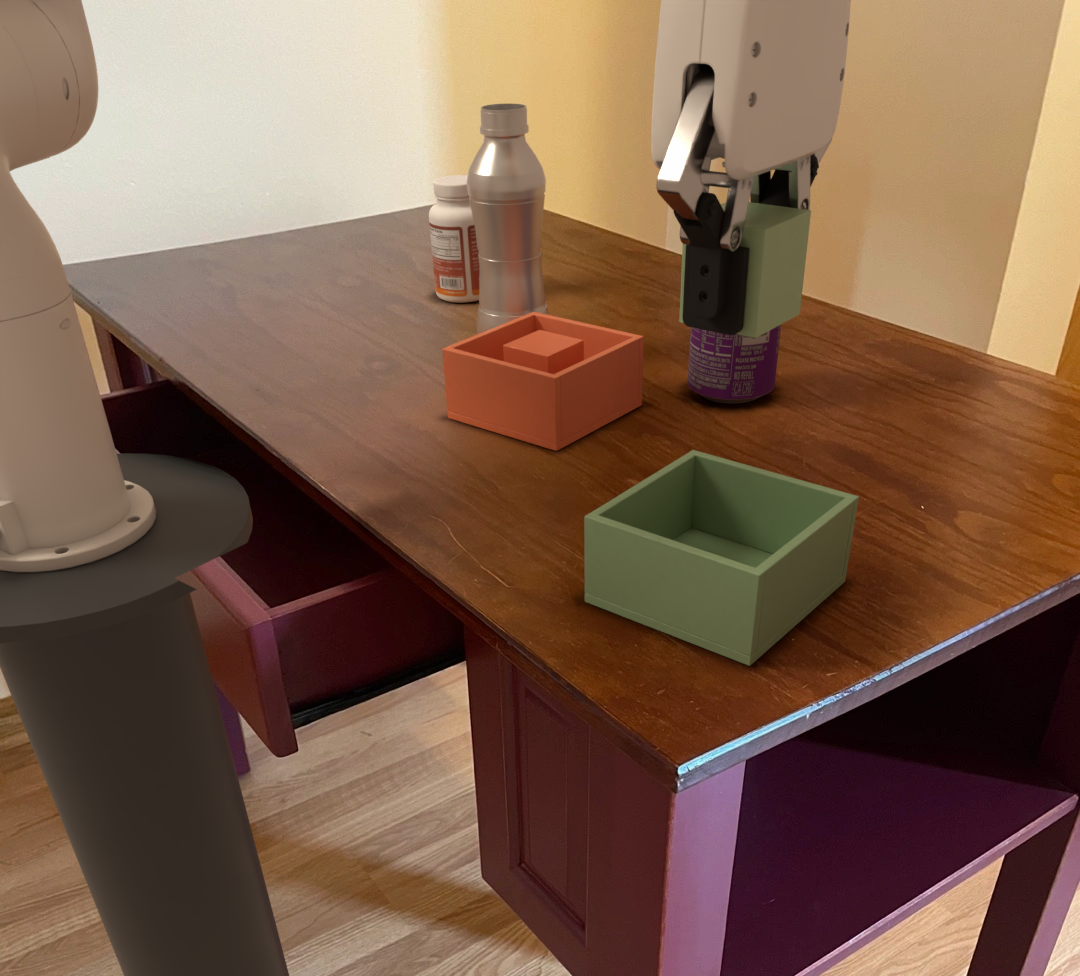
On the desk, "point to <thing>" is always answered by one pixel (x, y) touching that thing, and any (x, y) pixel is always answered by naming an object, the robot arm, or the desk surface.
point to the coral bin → (544, 382)
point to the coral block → (544, 351)
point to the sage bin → (718, 553)
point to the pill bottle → (454, 241)
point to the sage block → (770, 266)
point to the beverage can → (732, 365)
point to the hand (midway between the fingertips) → (739, 311)
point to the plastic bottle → (507, 218)
